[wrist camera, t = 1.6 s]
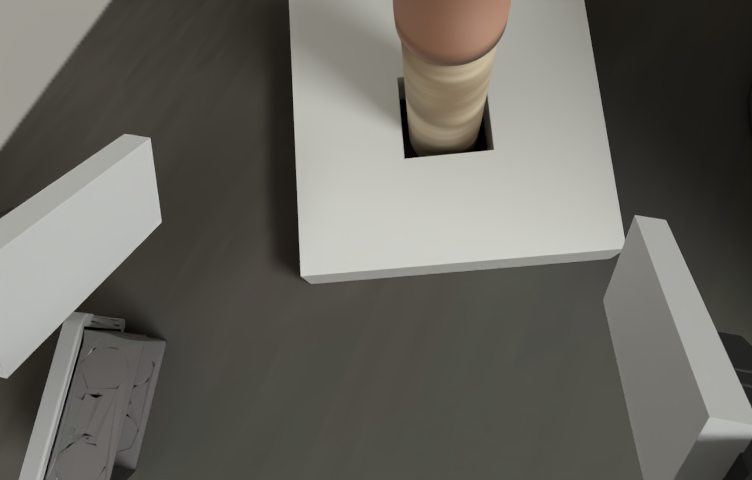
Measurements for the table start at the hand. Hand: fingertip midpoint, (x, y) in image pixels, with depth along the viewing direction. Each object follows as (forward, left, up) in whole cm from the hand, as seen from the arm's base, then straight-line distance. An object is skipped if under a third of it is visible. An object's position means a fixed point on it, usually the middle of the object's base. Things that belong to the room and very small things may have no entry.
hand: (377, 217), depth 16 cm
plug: (-3, -11, -20) cm, 23 cm away
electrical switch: (+17, +4, -20) cm, 27 cm away
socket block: (-3, -11, -20) cm, 23 cm away
